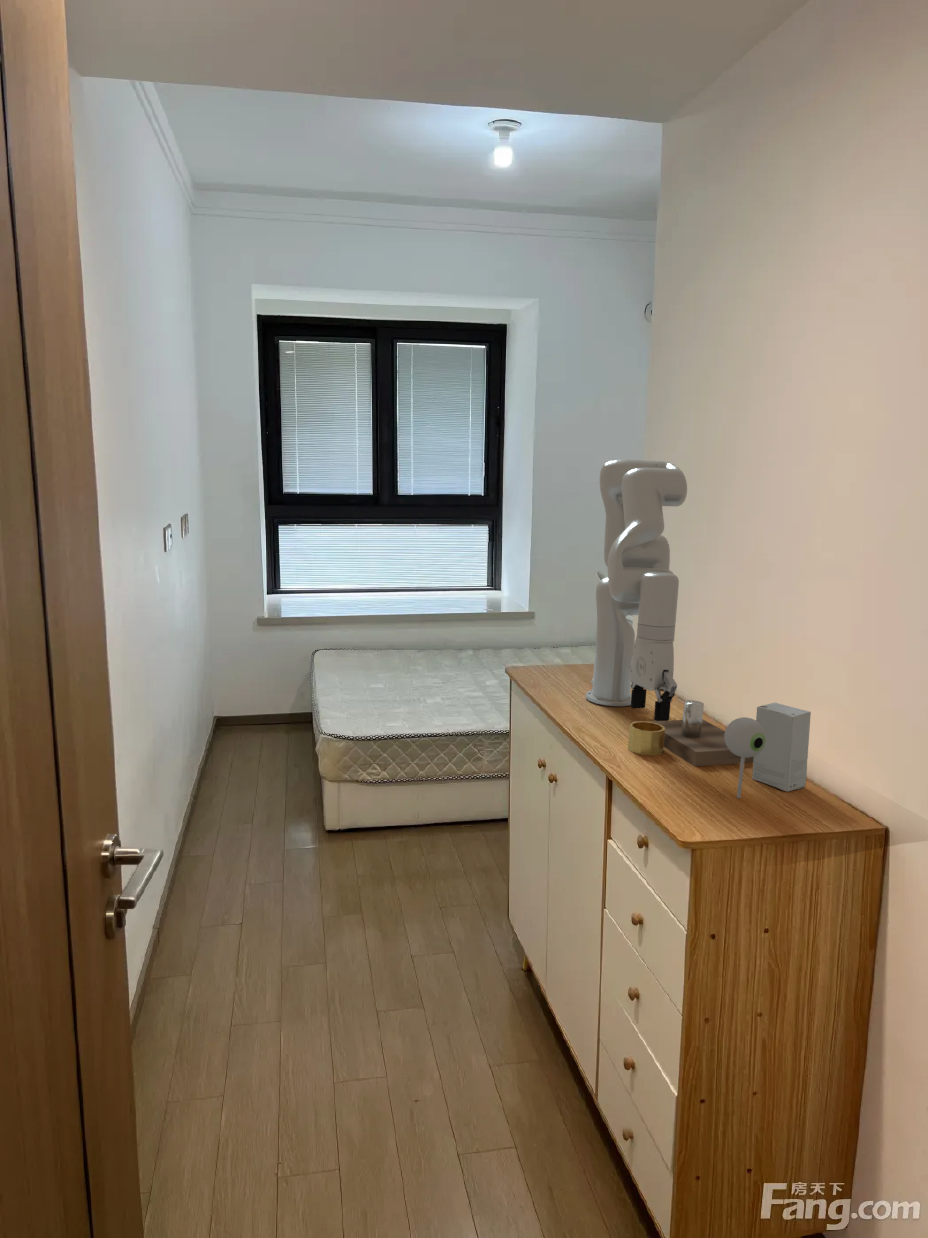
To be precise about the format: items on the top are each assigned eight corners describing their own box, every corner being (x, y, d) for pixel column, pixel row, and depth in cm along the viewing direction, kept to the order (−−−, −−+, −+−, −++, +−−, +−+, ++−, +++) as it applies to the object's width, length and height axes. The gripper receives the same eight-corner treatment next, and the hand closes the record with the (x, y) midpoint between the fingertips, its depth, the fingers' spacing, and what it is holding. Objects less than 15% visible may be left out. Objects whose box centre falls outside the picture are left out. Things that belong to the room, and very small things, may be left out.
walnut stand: (645, 734, 186) (646, 721, 186) (700, 731, 190) (701, 718, 190) (694, 766, 167) (696, 752, 167) (754, 762, 171) (756, 748, 171)
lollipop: (736, 807, 147) (745, 725, 145) (709, 792, 154) (717, 714, 151) (767, 802, 150) (777, 722, 148) (740, 788, 157) (748, 711, 154)
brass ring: (621, 744, 179) (623, 722, 178) (652, 743, 181) (653, 720, 180) (638, 756, 172) (640, 733, 171) (669, 754, 174) (671, 731, 173)
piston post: (677, 732, 179) (680, 700, 178) (694, 731, 180) (697, 700, 179) (687, 738, 175) (690, 706, 174) (704, 737, 176) (707, 705, 175)
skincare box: (805, 787, 158) (815, 712, 156) (785, 793, 155) (795, 716, 152) (768, 773, 165) (776, 700, 163) (748, 778, 162) (756, 704, 159)
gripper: (619, 625, 179) (613, 704, 181) (661, 640, 162) (654, 726, 165) (650, 625, 181) (644, 703, 183) (695, 640, 164) (687, 725, 167)
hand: (649, 714), depth 174 cm, fingers open, 9 cm apart
